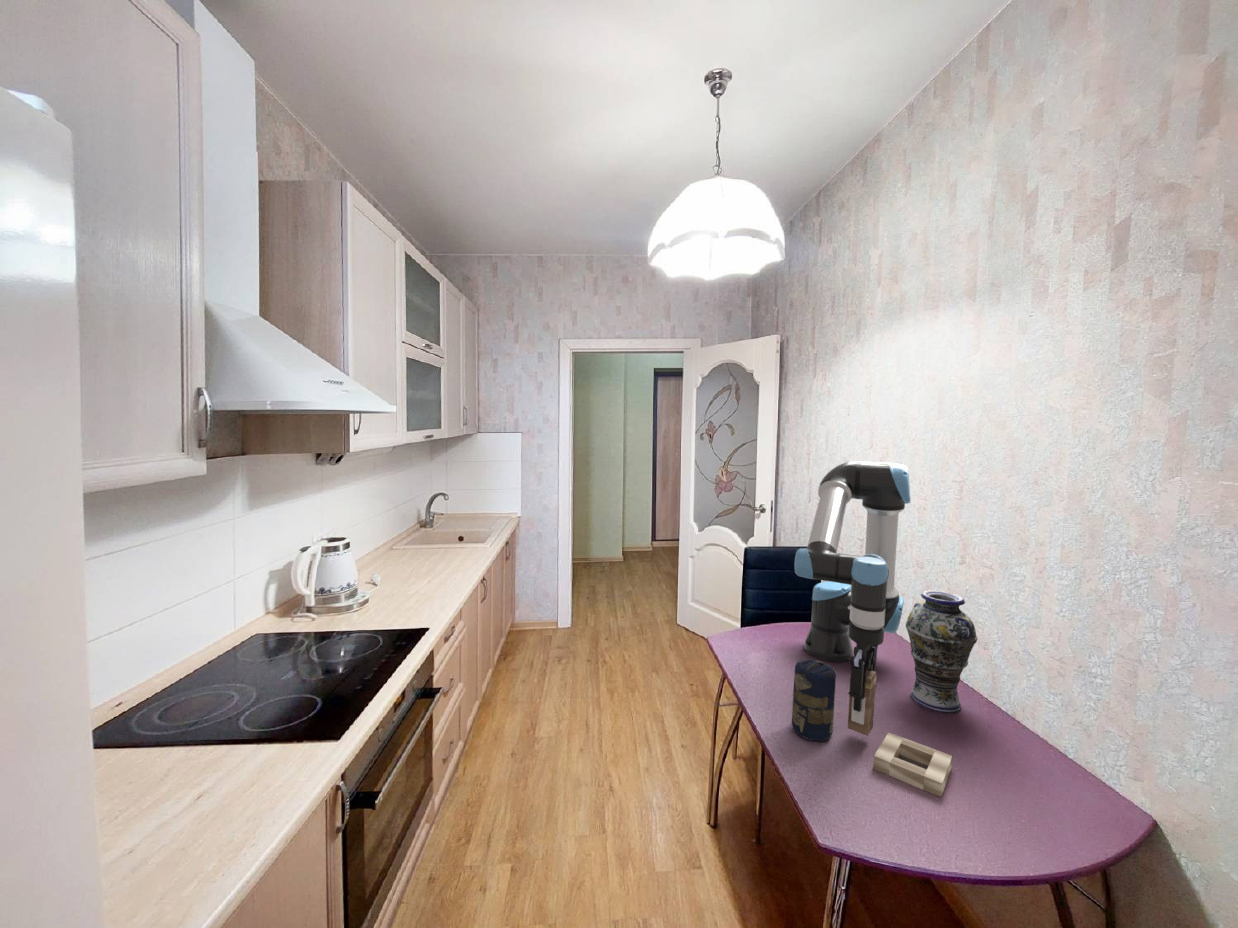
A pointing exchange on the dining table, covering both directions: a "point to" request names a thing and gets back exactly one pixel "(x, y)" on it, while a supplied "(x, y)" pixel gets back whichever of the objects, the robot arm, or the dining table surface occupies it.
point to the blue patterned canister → (813, 699)
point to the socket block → (913, 763)
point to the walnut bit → (869, 706)
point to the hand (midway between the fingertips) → (860, 716)
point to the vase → (939, 649)
